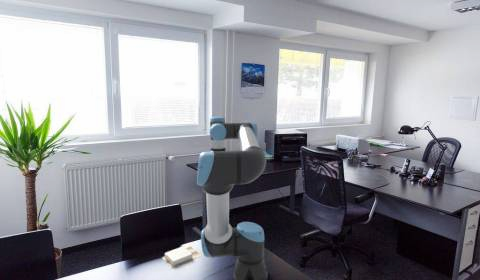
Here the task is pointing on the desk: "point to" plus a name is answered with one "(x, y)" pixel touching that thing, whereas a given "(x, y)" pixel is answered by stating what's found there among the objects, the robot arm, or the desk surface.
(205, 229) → the robot arm
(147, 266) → the desk surface
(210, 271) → the desk surface
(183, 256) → the tile
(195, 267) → the desk surface
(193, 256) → the board
